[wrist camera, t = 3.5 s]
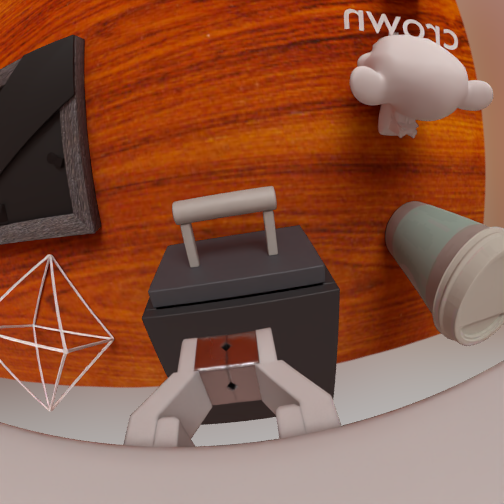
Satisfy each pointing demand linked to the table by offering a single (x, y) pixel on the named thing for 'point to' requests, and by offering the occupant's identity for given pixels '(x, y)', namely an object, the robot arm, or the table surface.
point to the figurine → (413, 78)
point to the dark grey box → (253, 318)
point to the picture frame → (45, 146)
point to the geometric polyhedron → (65, 351)
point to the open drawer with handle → (233, 254)
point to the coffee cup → (451, 268)
